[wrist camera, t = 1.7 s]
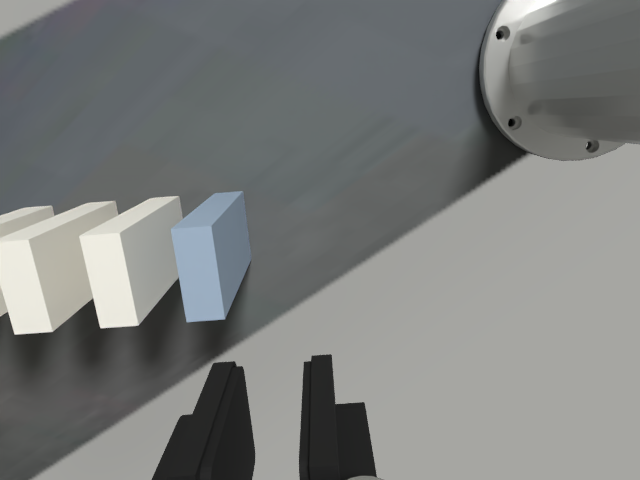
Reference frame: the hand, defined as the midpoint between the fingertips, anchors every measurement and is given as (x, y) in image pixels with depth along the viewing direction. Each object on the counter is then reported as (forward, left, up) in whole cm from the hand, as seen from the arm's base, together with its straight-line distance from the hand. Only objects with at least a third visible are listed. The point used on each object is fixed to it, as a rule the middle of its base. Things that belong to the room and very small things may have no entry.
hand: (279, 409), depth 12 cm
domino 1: (+4, -3, -21) cm, 22 cm away
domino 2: (+7, -6, -21) cm, 23 cm away
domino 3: (+11, -9, -21) cm, 25 cm away
